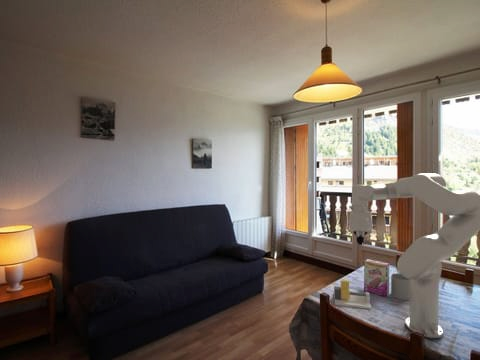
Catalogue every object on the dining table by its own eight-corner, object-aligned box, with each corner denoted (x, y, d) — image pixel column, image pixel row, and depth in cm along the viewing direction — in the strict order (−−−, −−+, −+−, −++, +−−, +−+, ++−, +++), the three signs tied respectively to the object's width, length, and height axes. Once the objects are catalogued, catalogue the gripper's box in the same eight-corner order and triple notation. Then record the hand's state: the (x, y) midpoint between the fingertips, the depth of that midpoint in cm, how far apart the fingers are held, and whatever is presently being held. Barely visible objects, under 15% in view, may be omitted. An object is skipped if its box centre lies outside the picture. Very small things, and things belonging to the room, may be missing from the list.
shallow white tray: (371, 309, 118) (371, 297, 118) (335, 304, 123) (335, 293, 123) (366, 297, 129) (366, 286, 129) (333, 294, 133) (333, 283, 133)
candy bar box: (363, 290, 136) (363, 260, 136) (366, 287, 140) (366, 258, 140) (387, 297, 129) (387, 265, 128) (389, 294, 132) (389, 263, 132)
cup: (413, 300, 125) (413, 280, 125) (395, 299, 127) (395, 279, 127) (405, 292, 134) (405, 274, 133) (388, 291, 135) (388, 273, 135)
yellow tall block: (349, 299, 124) (349, 282, 124) (341, 298, 125) (341, 281, 125) (348, 295, 128) (348, 279, 128) (340, 294, 129) (340, 278, 129)
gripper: (345, 209, 128) (345, 245, 129) (378, 210, 124) (378, 247, 125) (343, 207, 135) (343, 241, 136) (374, 207, 131) (374, 243, 132)
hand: (360, 243), depth 130 cm, fingers closed
